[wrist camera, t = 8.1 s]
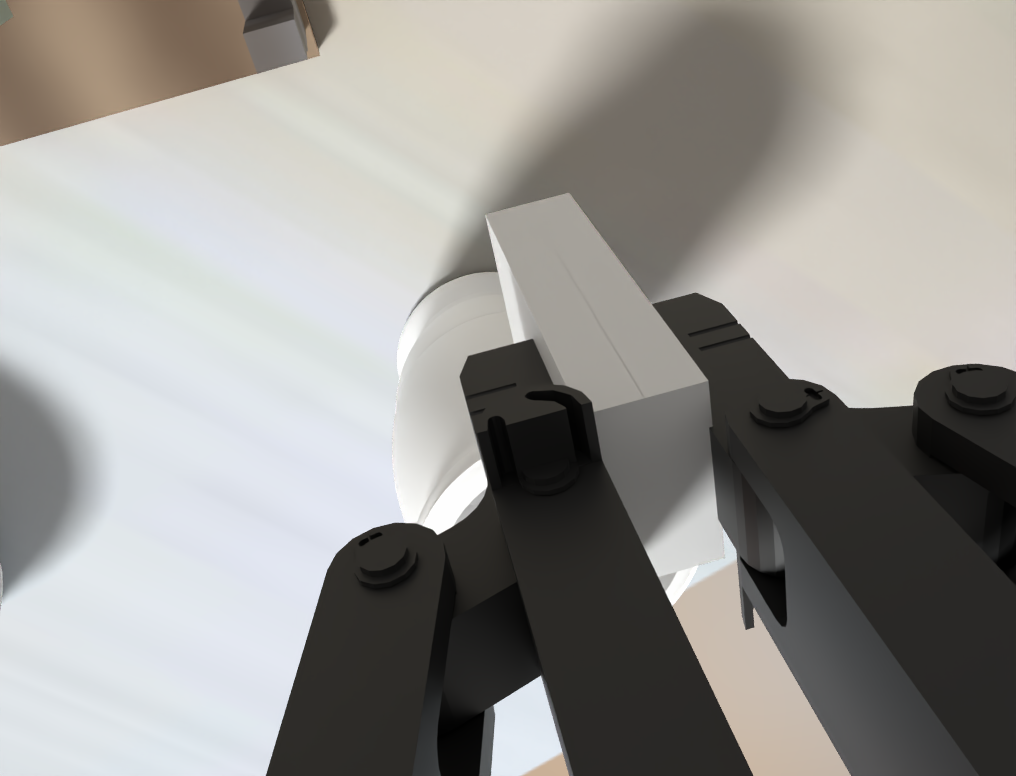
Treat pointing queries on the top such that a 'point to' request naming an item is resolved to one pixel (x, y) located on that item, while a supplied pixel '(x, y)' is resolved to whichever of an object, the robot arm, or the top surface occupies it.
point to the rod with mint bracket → (134, 54)
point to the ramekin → (1, 585)
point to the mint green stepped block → (4, 12)
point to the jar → (451, 406)
